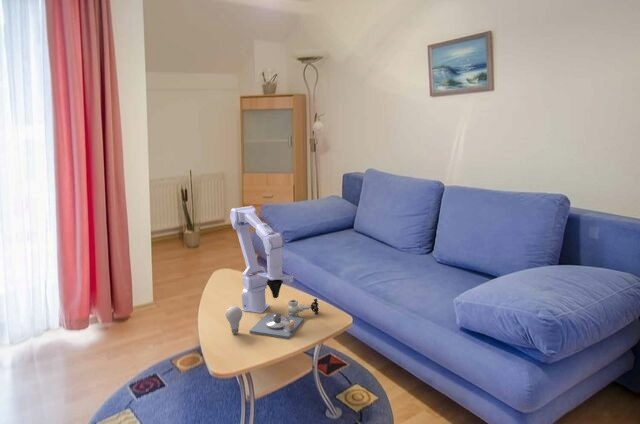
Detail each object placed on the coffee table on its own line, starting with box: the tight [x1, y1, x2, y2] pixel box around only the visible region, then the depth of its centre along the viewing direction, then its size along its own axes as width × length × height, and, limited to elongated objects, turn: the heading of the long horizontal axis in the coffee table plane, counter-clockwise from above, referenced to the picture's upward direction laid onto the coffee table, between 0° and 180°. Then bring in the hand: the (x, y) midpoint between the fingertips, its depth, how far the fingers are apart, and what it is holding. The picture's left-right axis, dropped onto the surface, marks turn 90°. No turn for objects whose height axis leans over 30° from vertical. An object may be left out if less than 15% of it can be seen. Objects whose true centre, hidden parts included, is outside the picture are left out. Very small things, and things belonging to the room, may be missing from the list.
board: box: [249, 313, 305, 340], centre depth 176 cm, size 16×16×4 cm
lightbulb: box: [225, 305, 243, 335], centre depth 170 cm, size 6×6×11 cm
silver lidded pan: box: [266, 312, 294, 332], centre depth 174 cm, size 14×9×4 cm, turn 43°
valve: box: [287, 298, 319, 317], centre depth 186 cm, size 7×7×12 cm
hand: (275, 297), depth 179 cm, fingers closed
